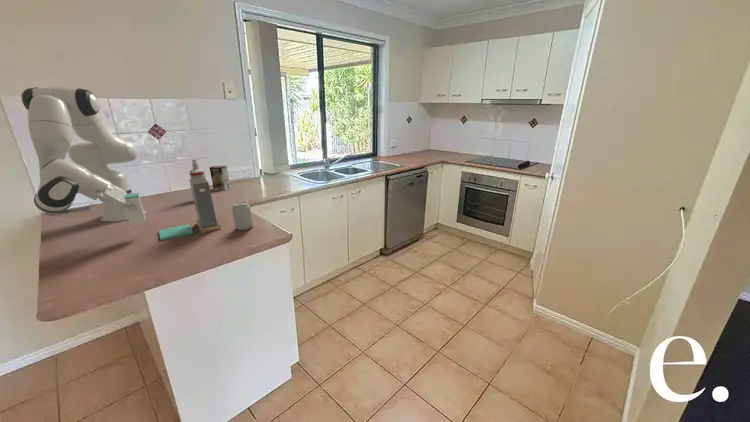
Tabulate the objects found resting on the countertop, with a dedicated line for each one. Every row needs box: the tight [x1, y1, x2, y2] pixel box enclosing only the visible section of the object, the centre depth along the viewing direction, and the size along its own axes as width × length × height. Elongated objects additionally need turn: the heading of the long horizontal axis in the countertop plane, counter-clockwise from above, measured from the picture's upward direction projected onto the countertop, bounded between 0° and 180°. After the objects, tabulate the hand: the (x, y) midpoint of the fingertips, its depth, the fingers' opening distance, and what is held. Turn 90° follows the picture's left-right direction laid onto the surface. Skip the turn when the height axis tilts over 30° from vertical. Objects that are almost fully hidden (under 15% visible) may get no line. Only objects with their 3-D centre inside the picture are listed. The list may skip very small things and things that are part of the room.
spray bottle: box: [188, 158, 206, 179], centre depth 182 cm, size 8×8×25 cm
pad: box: [158, 223, 194, 241], centre depth 135 cm, size 12×12×1 cm
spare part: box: [124, 192, 147, 226], centre depth 127 cm, size 5×5×12 cm
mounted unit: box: [189, 177, 222, 234], centre depth 138 cm, size 15×8×22 cm, turn 36°
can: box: [231, 201, 254, 231], centre depth 137 cm, size 8×8×12 cm
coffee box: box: [209, 165, 231, 191], centre depth 208 cm, size 9×6×16 cm
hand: (136, 207), depth 127 cm, fingers closed on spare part, 5 cm apart
